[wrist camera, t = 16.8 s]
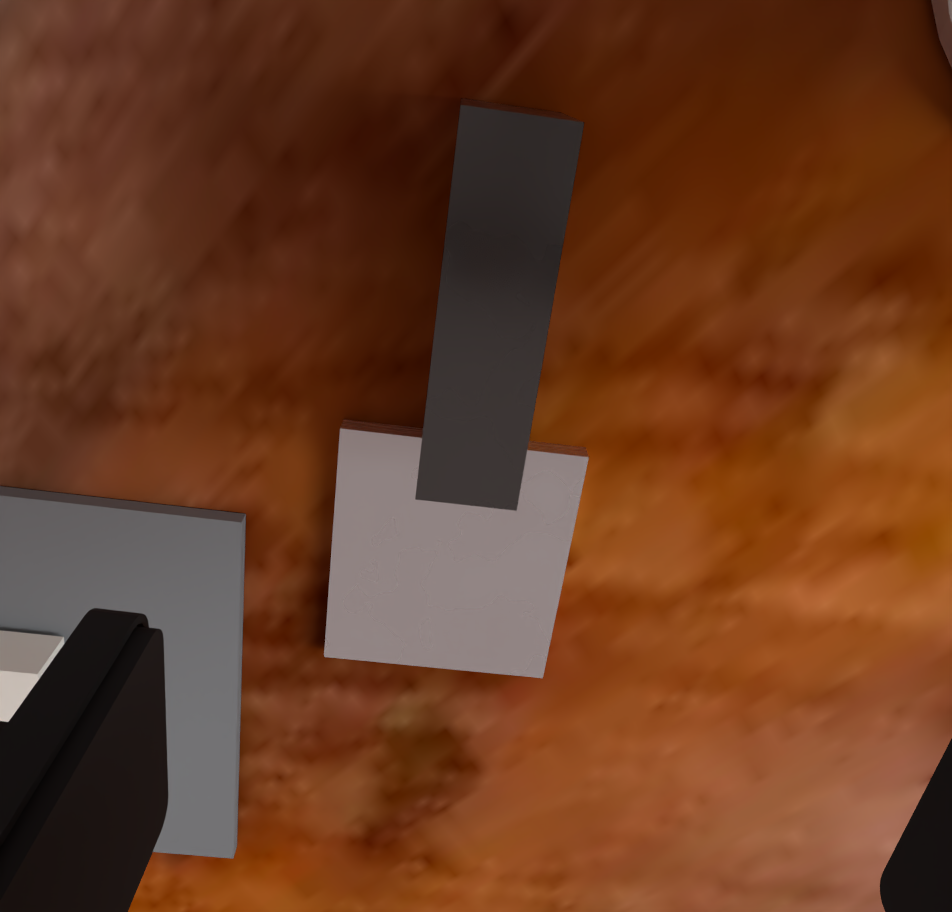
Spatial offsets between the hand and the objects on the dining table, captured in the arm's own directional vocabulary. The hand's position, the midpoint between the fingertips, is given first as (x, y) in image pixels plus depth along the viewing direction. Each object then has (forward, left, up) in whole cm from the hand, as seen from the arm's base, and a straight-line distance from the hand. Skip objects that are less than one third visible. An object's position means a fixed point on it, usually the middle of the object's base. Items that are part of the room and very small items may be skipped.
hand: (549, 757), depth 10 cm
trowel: (+3, -1, -18) cm, 18 cm away
